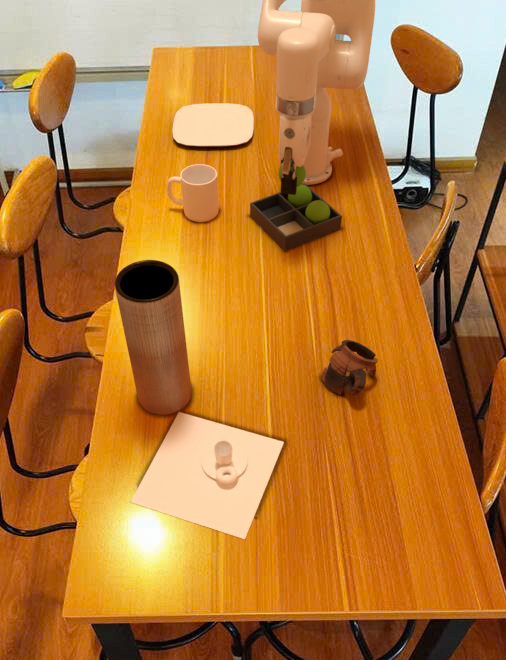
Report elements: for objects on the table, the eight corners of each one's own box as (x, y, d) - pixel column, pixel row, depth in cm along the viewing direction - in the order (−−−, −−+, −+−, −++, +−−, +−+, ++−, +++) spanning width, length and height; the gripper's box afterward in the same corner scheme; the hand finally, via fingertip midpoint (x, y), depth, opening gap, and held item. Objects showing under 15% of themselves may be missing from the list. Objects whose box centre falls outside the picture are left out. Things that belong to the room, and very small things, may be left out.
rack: (303, 196, 166) (304, 182, 163) (340, 228, 158) (341, 215, 155) (250, 215, 161) (249, 202, 158) (284, 251, 153) (285, 237, 150)
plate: (253, 150, 179) (253, 144, 178) (170, 151, 179) (169, 145, 178) (253, 108, 193) (253, 102, 191) (176, 109, 193) (175, 103, 192)
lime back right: (320, 213, 160) (321, 192, 156) (333, 225, 157) (336, 205, 153) (299, 221, 159) (301, 200, 154) (313, 233, 156) (315, 213, 151)
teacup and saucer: (236, 491, 114) (236, 477, 111) (192, 477, 116) (190, 464, 112) (254, 450, 119) (254, 436, 116) (211, 437, 121) (210, 423, 118)
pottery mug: (312, 368, 131) (331, 331, 127) (353, 379, 135) (373, 344, 131) (331, 404, 122) (353, 366, 118) (375, 415, 125) (397, 378, 121)
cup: (215, 224, 159) (213, 186, 151) (164, 219, 161) (160, 181, 153) (222, 203, 164) (220, 165, 157) (173, 199, 166) (169, 161, 158)
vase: (192, 413, 124) (179, 299, 103) (137, 417, 124) (113, 303, 102) (190, 372, 130) (178, 256, 109) (138, 376, 130) (115, 261, 109)
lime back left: (302, 197, 164) (303, 176, 160) (315, 209, 161) (317, 188, 157) (282, 204, 163) (283, 184, 158) (295, 217, 160) (297, 196, 155)
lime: (295, 175, 147) (296, 151, 142) (310, 188, 144) (311, 164, 139) (273, 183, 145) (273, 159, 141) (287, 196, 142) (288, 172, 138)
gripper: (306, 127, 124) (301, 211, 138) (323, 81, 135) (316, 164, 149) (265, 122, 126) (264, 206, 140) (285, 77, 136) (282, 160, 150)
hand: (291, 183), depth 144 cm, fingers closed on lime, 5 cm apart
